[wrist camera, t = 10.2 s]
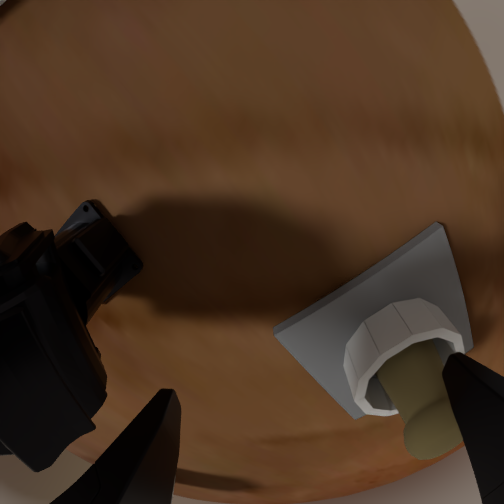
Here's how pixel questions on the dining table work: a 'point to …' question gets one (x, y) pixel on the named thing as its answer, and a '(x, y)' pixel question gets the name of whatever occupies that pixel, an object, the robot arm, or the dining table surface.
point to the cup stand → (381, 322)
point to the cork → (421, 399)
